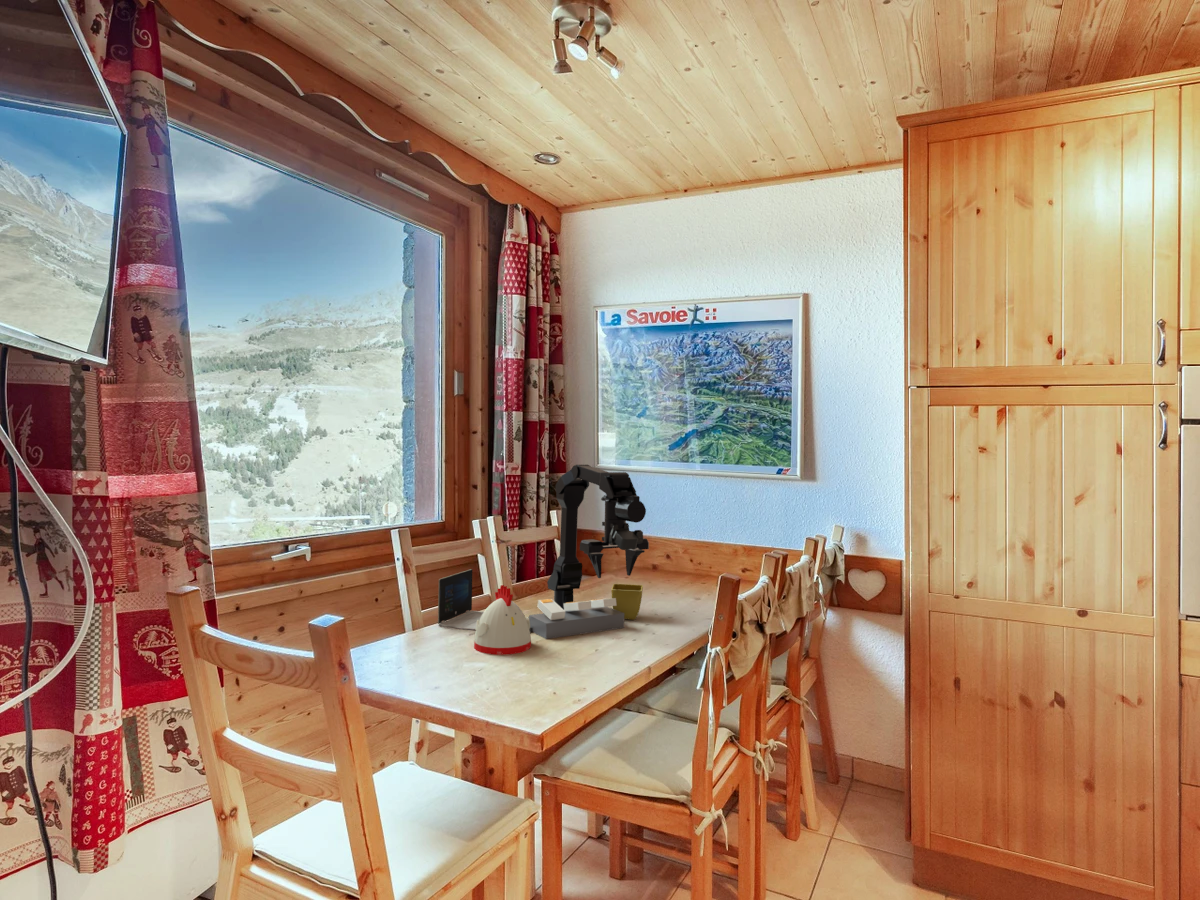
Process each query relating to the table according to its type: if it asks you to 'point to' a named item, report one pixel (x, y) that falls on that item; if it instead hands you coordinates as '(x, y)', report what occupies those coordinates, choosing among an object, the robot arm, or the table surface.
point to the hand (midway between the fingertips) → (614, 576)
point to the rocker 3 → (603, 602)
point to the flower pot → (627, 599)
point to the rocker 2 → (577, 605)
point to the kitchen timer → (502, 627)
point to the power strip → (577, 622)
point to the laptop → (457, 602)
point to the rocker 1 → (551, 609)
